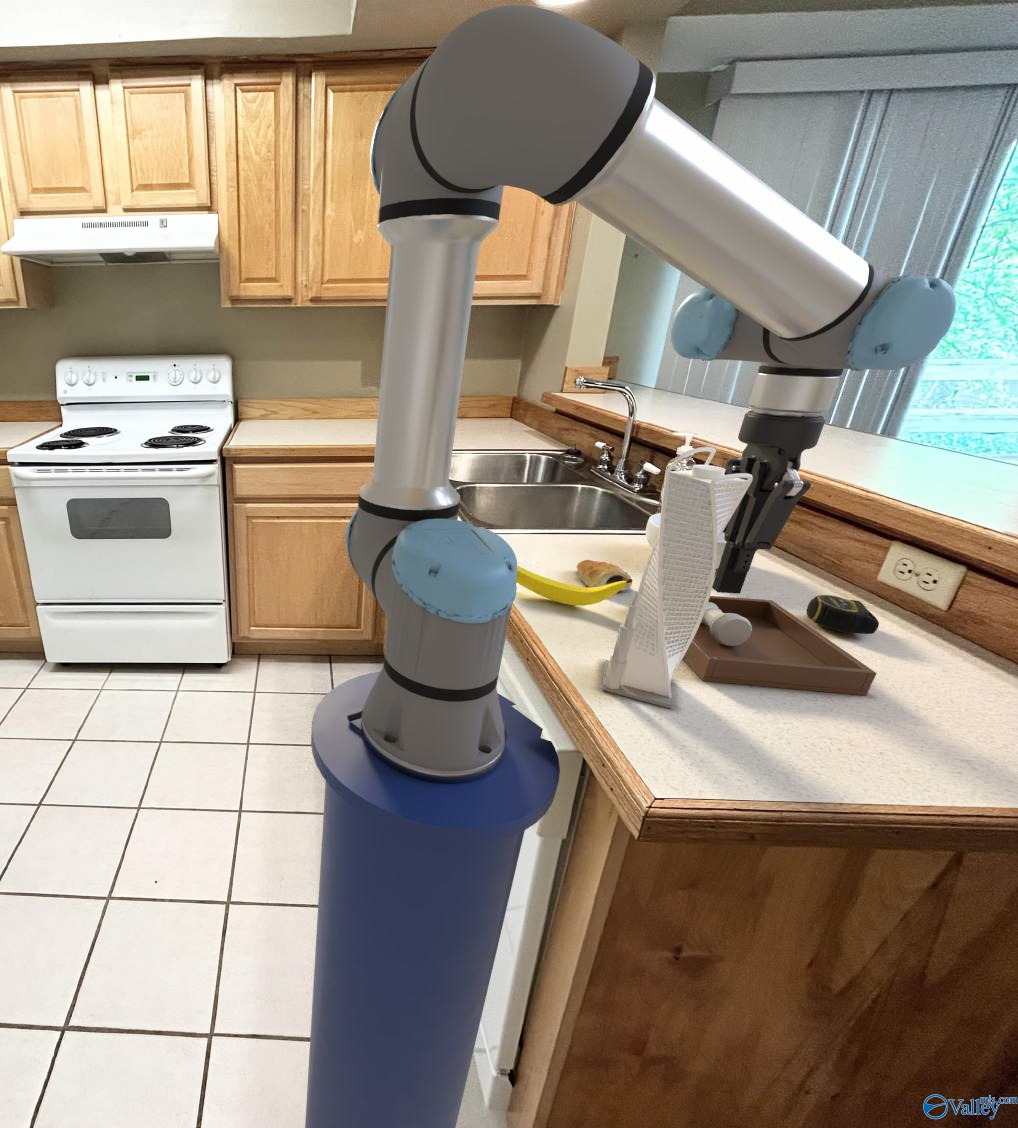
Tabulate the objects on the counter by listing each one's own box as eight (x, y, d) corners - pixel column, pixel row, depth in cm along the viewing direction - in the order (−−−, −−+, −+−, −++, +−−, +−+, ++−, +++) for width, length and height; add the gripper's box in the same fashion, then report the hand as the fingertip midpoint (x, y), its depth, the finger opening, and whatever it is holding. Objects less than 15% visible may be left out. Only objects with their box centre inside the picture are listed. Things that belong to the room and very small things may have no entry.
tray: (702, 680, 72) (709, 658, 71) (636, 609, 90) (641, 590, 89) (866, 695, 69) (877, 673, 68) (764, 618, 87) (771, 600, 86)
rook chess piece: (736, 610, 76) (703, 589, 84) (707, 634, 78) (677, 612, 85) (762, 630, 77) (727, 608, 84) (733, 654, 78) (701, 630, 86)
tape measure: (873, 643, 81) (884, 618, 79) (809, 630, 84) (819, 607, 82) (856, 622, 86) (867, 599, 85) (797, 611, 89) (806, 589, 88)
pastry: (564, 571, 103) (569, 550, 102) (601, 570, 104) (606, 550, 102) (594, 594, 95) (600, 572, 93) (635, 593, 95) (641, 572, 93)
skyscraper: (605, 657, 77) (663, 441, 66) (679, 676, 73) (753, 449, 62) (601, 689, 70) (665, 454, 59) (683, 711, 66) (766, 464, 55)
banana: (495, 582, 99) (501, 547, 96) (623, 615, 88) (634, 576, 85) (489, 588, 96) (495, 552, 94) (620, 622, 86) (631, 582, 83)
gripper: (862, 421, 64) (787, 614, 73) (786, 405, 76) (730, 573, 85) (785, 419, 65) (721, 609, 74) (721, 404, 77) (673, 570, 86)
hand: (725, 590), depth 80 cm, fingers closed
